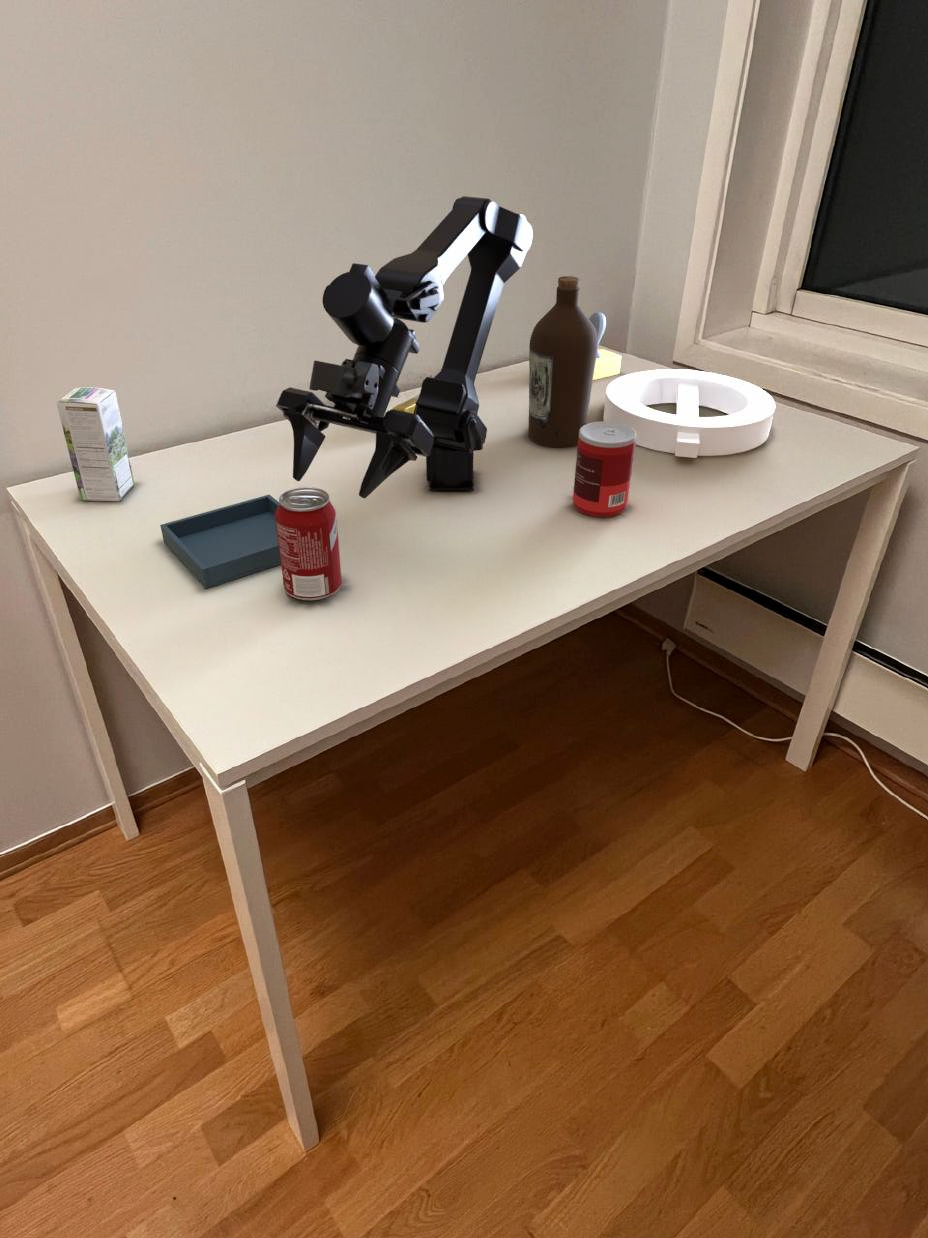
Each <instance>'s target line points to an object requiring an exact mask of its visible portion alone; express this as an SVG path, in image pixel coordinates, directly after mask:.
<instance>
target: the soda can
mask: <svg viewBox="0 0 928 1238" xmlns="http://www.w3.org/2000/svg"><path fill="white" fill-rule="evenodd" d="M278 502H279V504H280V505H279V506H278V508H277V510H276V512H275V520H276V528H277V536H278V543H279V551H280V559H281V564H280V567H281V573H282V582H283V589H284V591H285V593H286V594H288V595H289V596H290V597H292V598H294V599H298V600H302V601H308V602H309V601H313V602H314V601H319V600H324V599H326V598H328V597H331V596H333V595H334V594H336V593H337V592H338V591H340V589H341V587H342V584H343V583H342V582H343V579H342V567H341V556H340V543H339V530H338V519H337V517H338V516H337V510H336V507H335V505H334V504H333V503H332V502H331V500H330V495H329V493H328V492H327V491H326V490H324V489H322V488H318V487H314V486H313V487H311V486H310V487H309V486H303V487H296V488H292V489H289V490H286V491H285V492H283V493H282V494H280V495H279V497H278Z"/></svg>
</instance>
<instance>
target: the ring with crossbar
mask: <svg viewBox="0 0 928 1238" xmlns="http://www.w3.org/2000/svg"><path fill="white" fill-rule="evenodd" d="M604 399H605V400H604V408H603V409H604V410H603V421H607V422H617V423H621V424H625V425H627V426H629V427H631V428H633V429H634V430H635V431H636V445H637V446H640V447H643V448H646V449H650V450H653V451H659V452H663V453H669V454H674V456H675V457H683V458H690V459H691V458H693V459H697V458H698V456H699V457H709V456H710V457H711V456H713V457H714V456H727V455H734V454H735V455H736V454H740V453H744V452H748V451H751V450H753V449H755V448H757V447H760V446H762V445H763V444H764V443H766V441H767V440H768V438H769V435H770V431H771V427H772V423H773V418H774V415H775V410H776V402H775V400H774V398H773V396H771V394H769V393H768V392H767V391H766V390H763V389H762V388H761V387H759V386H757V385H755V384H752V383H751V382H747V381H745V380H742V379H739V378H735V377H731V376H728V375H723V374H719V373H715V372H708V371H700V370H696V369H695V370H694V369H684V368H683V369H682V368H679V369H651V370H644V371H642V370H641V371H637V372H633V373H628V374H625V375H621V376H619V377H617V378H615V379H614V380H612V381H611V382H610V383H609V384H608V385H607V387H606V390H605V398H604ZM658 404H659V405H660V404H676V414H675V413H674V414H672V413H668V412H664V411H661V410H657V409H654V408H651V407H649V406H650V405H658ZM699 406H700V407H706V408H710V409H713V410H716V411H720V412H723V413H725V414H726V415H721V416H720V415H719V416H700V415H699V411H700V410H699Z"/></svg>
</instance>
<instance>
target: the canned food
mask: <svg viewBox="0 0 928 1238" xmlns="http://www.w3.org/2000/svg"><path fill="white" fill-rule="evenodd" d="M636 445H637V444H636V431H635V430H634V429H633V428H631V427H629V426H627V425H625V424H621V423H617V422H607V421H604V420H602V421H594V422H589V423H587V424H586V425H584V426H582V427H581V428H580V432H579V438H578V445H577V448H576V457H575V459H576V460H575V469H574V470H575V471H574V481H573V482H574V483H573V492H572V493H573V494H572V502H573V506H574V508H575V509H576V510H577V511H578V512H580V513H582V514H584V515H587V516H590V517H596V518H609V517H614V516H617V515H619V514H621V513H623V512H624V510H625V509H626V507H627V506H628V502H629V496H630V495H629V494H630V487H631V481H632V474H633V466H634V460H635V459H634V458H635V451H636Z"/></svg>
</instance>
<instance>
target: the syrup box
mask: <svg viewBox="0 0 928 1238" xmlns="http://www.w3.org/2000/svg"><path fill="white" fill-rule="evenodd" d="M56 407H57V408H56V409H57V410H58V415H59V419H60V423H61V427H62V431H63V435H64V440H65V443H66V448H67V451H68V455H69V459H70V464H71V467H72V471H73V475H74V479H75V483H76V486H77V490H78V495H79V499H80V500H81V501H89V502H90V501H91V502H92V501H94V502H121V500H123V498H124V497H125V496H126V495H127V494H128V493H129V492H130V490H132V488H133V487H134V486H135V480H134V474H133V471H132V470H133V469H132V465H131V460H130V456H129V451H128V446H127V441H126V436H125V432H124V427H123V421H122V418H121V412H120V407H119V402H118V398H117V393H116V390H114V389H109V388H102V387H94V386H89V387H88V386H87V387H86V386H85V387H75V388H73V389H72V390H71V391H70V392H68V393H67V394H65V396H63V397H62V398H60V399H59V400H58V401H57V402H56Z"/></svg>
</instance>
